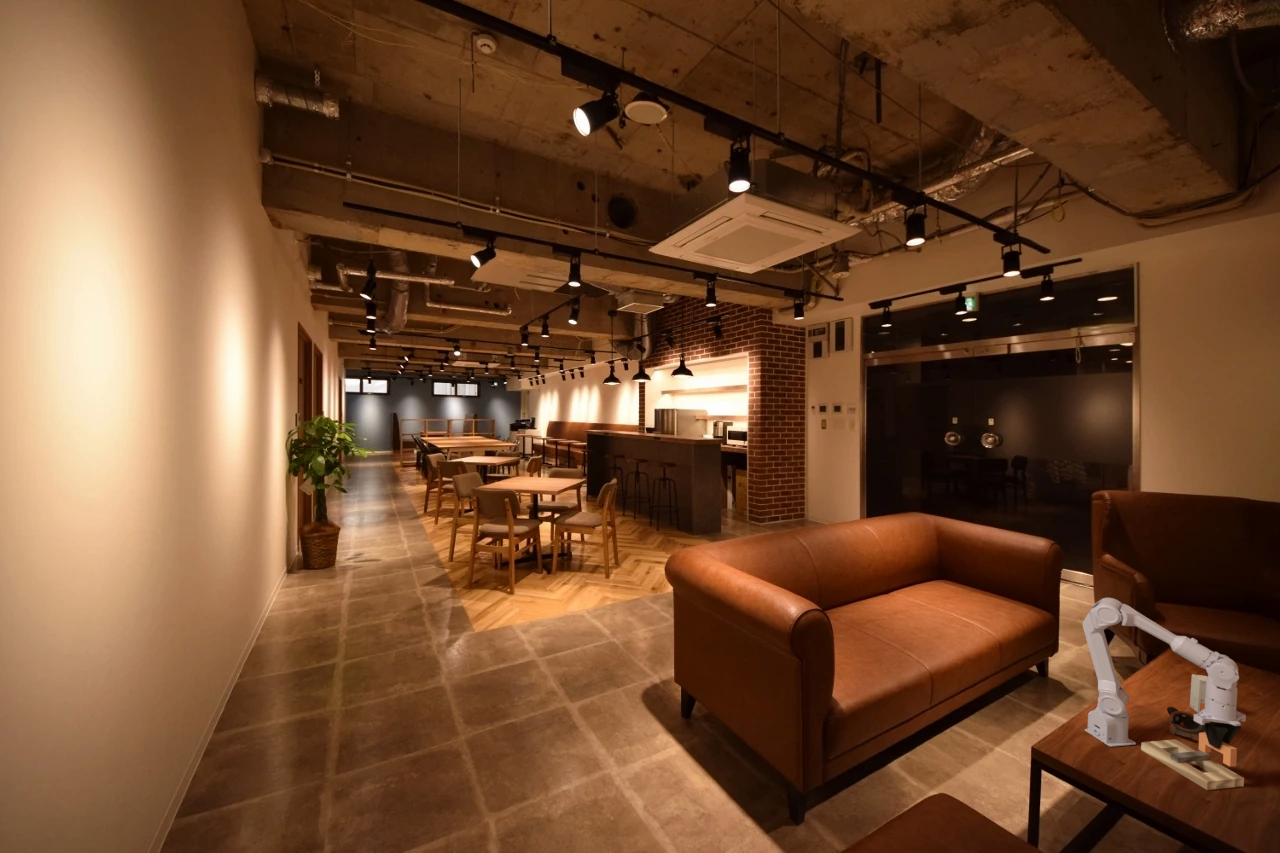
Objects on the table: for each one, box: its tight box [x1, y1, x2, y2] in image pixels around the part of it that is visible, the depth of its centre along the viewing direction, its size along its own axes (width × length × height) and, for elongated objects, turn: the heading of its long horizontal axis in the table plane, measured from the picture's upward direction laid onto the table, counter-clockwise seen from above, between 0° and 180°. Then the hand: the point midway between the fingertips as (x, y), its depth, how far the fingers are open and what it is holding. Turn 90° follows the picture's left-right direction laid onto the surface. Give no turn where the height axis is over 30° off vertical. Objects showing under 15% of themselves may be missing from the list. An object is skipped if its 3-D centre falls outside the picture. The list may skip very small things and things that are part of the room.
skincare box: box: [1189, 673, 1208, 714], centre depth 169 cm, size 6×4×12 cm
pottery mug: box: [1166, 706, 1205, 739], centre depth 158 cm, size 12×10×8 cm
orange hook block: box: [1198, 732, 1238, 767], centre depth 139 cm, size 2×7×5 cm, turn 7°
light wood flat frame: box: [1140, 739, 1245, 791], centre depth 143 cm, size 12×16×4 cm
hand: (1218, 745), depth 139 cm, fingers closed on orange hook block, 2 cm apart
